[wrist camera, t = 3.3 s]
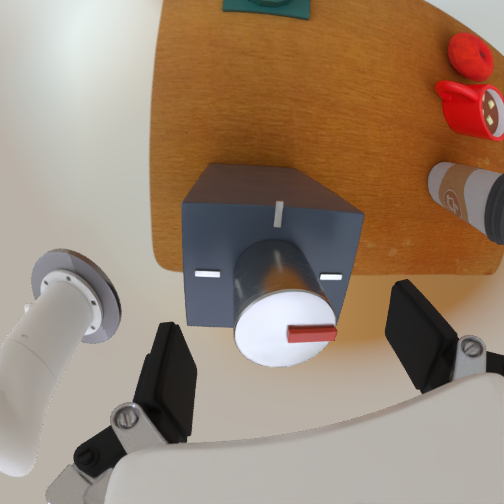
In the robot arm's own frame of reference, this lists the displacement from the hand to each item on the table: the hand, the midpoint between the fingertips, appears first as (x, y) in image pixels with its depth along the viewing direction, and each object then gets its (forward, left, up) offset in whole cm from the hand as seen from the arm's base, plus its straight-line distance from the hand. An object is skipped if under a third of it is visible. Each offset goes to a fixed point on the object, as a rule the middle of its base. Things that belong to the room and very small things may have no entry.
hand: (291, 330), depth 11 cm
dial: (0, 0, -5) cm, 5 cm away
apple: (+34, +19, -23) cm, 45 cm away
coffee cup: (+28, -1, -23) cm, 36 cm away
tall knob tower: (0, 0, -23) cm, 23 cm away
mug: (+31, +11, -23) cm, 40 cm away
